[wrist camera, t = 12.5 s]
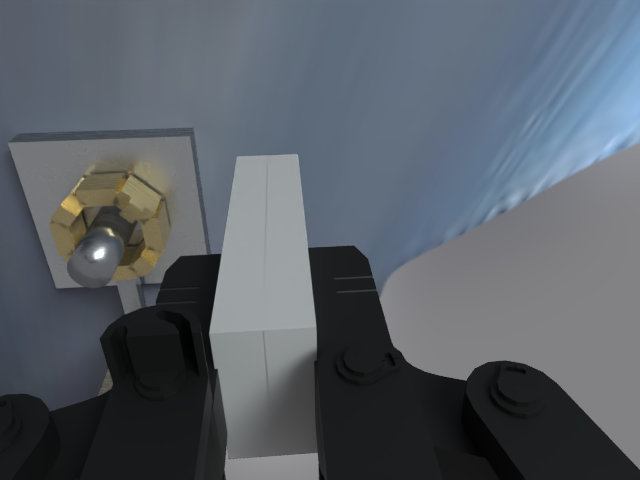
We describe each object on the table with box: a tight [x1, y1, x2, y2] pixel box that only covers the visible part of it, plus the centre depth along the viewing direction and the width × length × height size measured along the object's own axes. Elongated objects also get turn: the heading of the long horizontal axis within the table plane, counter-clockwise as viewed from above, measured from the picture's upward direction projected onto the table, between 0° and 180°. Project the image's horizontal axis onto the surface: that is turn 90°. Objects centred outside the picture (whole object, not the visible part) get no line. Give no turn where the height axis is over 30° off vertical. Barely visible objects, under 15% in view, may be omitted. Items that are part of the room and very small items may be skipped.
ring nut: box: [49, 173, 170, 396], centre depth 42 cm, size 22×8×15 cm, turn 1°
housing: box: [8, 128, 211, 288], centre depth 42 cm, size 14×14×10 cm
